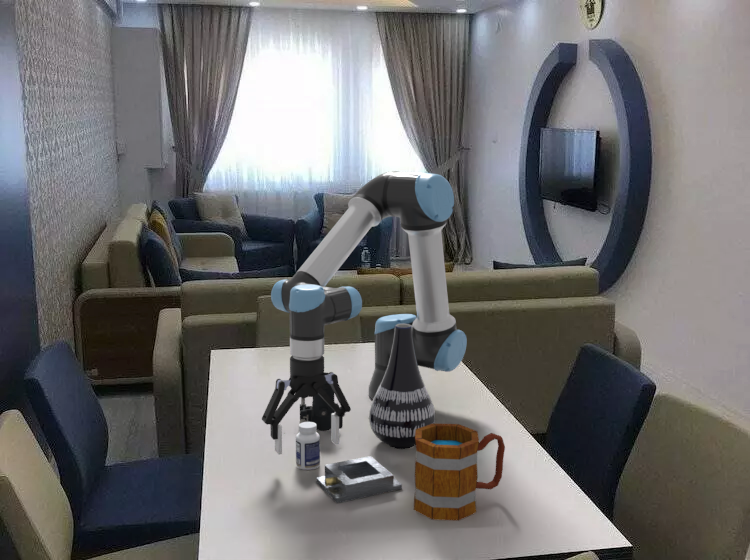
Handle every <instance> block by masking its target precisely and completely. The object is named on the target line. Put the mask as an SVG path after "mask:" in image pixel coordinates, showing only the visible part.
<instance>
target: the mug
mask: <svg viewBox="0 0 750 560" xmlns="http://www.w3.org/2000/svg"><path fill="white" fill-rule="evenodd" d="M494 440H496V442H497V450H496V455H495V472H494V476H493V478H492V480H491V481H489V482H484V481H478V477H479V476H478V452H479V451H483V450H484V449H485V448H486V447H488V444H489V443H490V442H492V441H494ZM415 443H416V445H415V451H416V452H415V462H414V463H415V464H414V484H415V485H414V486H415V490H414V498H413V511H415V512H417V513H418V514H420V515H422V516H425V517H426V518H428V519H430V520H432V521H433V520H435V521H436V520H439V521H458V522H460V521H461V520H464V519H465V518H468V517H469V516H472V515H474V514H476V513H477V505H476V502H477V501H476V497H477V496H476V495H477V494H476V492H477V491H476V490H477V489H480V490H481V489H482V490H483V489H484V490H492V489H495V488H496V487H499V484H500V482H501V480H502V477H503V470H504V469H503V467H504V456H505V450H506V447H505V443H504V439H503V437H502V436H501V435H499V434H496V433H493V432H490V433H489V434H485V436H483V437H482V438H481V440H480V438H479V432H478V430H475V429H473V428H470V427H467V426H465V425H462V424H459V423H437V422H435V423H433V424H430V425H427V426H424V427H421V428H418V429H416V431H415Z"/></svg>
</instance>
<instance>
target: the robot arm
mask: <svg viewBox="0 0 750 560" xmlns="http://www.w3.org/2000/svg"><path fill="white" fill-rule="evenodd" d="M454 196H455V195H454V190H453V187H452V186H451V183H450V182H449V181H448V180H447V178H445V177H444V176H443V175H441V174H438V173H431V172H427V171H426V172H419V171H418V172H415V171H413V172H412V171H399V170H398V171H396V170H395V171H394V170H392V171H388V172H383V173H381V174H379V175H377V176H375V177H374V178H372V179H370V180H369V181H367V183H365V184H364V185H363V186H362V187H361V188H359V189H358V190H357V192H356V193H354V195H353V196H352V197H351V199H349V201H348V204H347V205H348V208H347V209H346V211H344V214H342V216H340V218H339V220H338V221H336V223H335V224H334V226H332V228H331V229H330V230H329V232H328V233H327V234H326V235H325V236H324V238H323V239H322V241H321V242H320V243H319V244H318V245H317V247H316V248H315V249H314V250H313V251H312V253H311V254H310V255H309V256H308V257H307V259H306V260H305V261H304V262H303V264H302V265H301V266H300V267H299V269H298V270H297V271H296V272H295V274H294V275H293V276H292V277H291V278H290V279H288V278H286V279H280V280H278V281H277V282H275V283H274V285H273V287H272V289H271V292H270V298H271V303H272V305H273V306H274V307H275V309H277V310H279V311H283V312H285V313H288V314H289V354H290V357H289V375H290V376H289V379H284V380H283V379H281V378H277V379H276V380H275V389H274V391H273V393H272V395H271V396H270V399H269V401H268V404H267V407H266V408H265V411H264V413H263V415H262V417H261V420H262V422H263V423H264V424H266V425H268V426H270V437H271V439H272V440H274V451H275V452H276V453H277V455H283V425H281V422H282V420H283V419H284V417H285V416H286V415H287V414H288V412H289V411H290V409H291V408H292V407H293V405H294V404H296V403H297V402H298V400H299V399H301V398H305V399H306V398H309V397H310V398H313V397H315V396H316V395H317V394H319V395H320V396H321V397H322V399H323V400H324V401H325V402H326V403H327V404H328V405H329V406H330V407H331V408H332V409H333V410H334V411H335V413H332V414H331V430H330V439H331V442H332V443H333V444H335V445H340V430H341V429H343V425H344V424H343V423H344V422H343V417H345V416H346V413H350V411H352V409H351V406H350V404H349V402H348V400H347V398H346V396H345V394H344V393H343V390H342V388H341V386H340V385H339V378H338V375H337V374H335V373H334V372H333V371H329V372H328V373H329V374H328V375H324V373H325V357H324V355H325V326H328V325H331V324H335V323H339V322H345V321H348V320H350V319H353V318H356V317H357V316H358V315H359V314H360V312H361V311H362V308H363V299H362V296H361V294H360V291H358V290H357V289H356V288H355V287H354V286H349V285H348V286H339V287H331V286H327V284H328V283H329V282H330V281H331V280H332V278H333V277H334V276H335V274H336V272H338V270H340V268H341V267H342V265H343V264H344V263H345V262H346V260H347V259H348V257H350V255H351V254H352V252H354V250H355V249H356V247H357V246H358V245H359V243H361V241H362V240H363V239H364V237H365V236H366V234H367V233H368V232H369V230H370V229H372V227H377V226H378V225H379V224H380V223H381V222H382V220H384V219H387V218H391V217H394V218H395V217H396V218H400V219H399V220H400V227H401V230H403V231H404V232H405V233H406V234H407V237H408V246H409V254H410V263H411V273H412V281H413V291H414V299H415V300H414V301H415V309H416V315H415V314H414V313H413V314H412V313H399V314H389V315H385V316H384V315H383V316H381V317H379V318H378V319H377V320H376V321H375V325H374V326H375V327H374V328H375V329H374V370H373V373H372V377H371V378H370V382H369V385H368V397H369V398H371V400H373V398H374V396H375V394H376V392H377V390H378V388H379V386H380V384H381V382H382V380H383V377H384V375H385V372H386V370H387V366H388V363H389V359H390V355H391V350H392V345H393V340H394V332H395V325H397V324H410V325H411V326H412V336H413V344H414V350H415V356H416V360H417V365H418V367H422V368H427V369H432V370H434V371H437V372H438V371H439V372H440V371H441V372H452V371H454V370H455V369H456V368H457V367H458V366H459V365H460V364H461V362H462V361H463V359H464V357H465V354H466V349H467V341H468V340H467V334H465V332H464V331H462V330H460V329H457V322H456V318H455V317H454V316H453V315H451V314H450V309H449V306H450V305H449V297H448V287H447V286H448V285H447V276H446V275H447V274H446V267H445V264H446V263H445V257H444V255H445V254H444V246H443V235H442V234H443V233H442V230H443V228H444V227H445V226H446V225H447V220H448V219H449V218H450V217H451V216H452V214H453V211H454V209H453V207H454V206H455V197H454ZM326 381H327V382H328V383H329V384H330V385H331V387H332V389H333V391H334V396H335V397H336V399H337V401H338V403H339V407H338V406H337V404H338V403H336V402H335V400H334V401H333V400H332V399H331V398H330V397H329V396H328V395H327V393H326V392H325V391H324V390H323V389H322V387H323V385H324V383H325V382H326ZM288 387H290V390H288V392H287V395H286V397H285V398H284V400H283V401H282V402H281V400H282V398H283V396H284V392H285V391H286V390H287V389H288ZM280 402H281V404H280ZM279 404H280V405H279Z"/></svg>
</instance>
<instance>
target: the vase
mask: <svg viewBox="0 0 750 560" xmlns="http://www.w3.org/2000/svg"><path fill="white" fill-rule="evenodd" d="M424 382H425V381H424V380H423V378H422V375H421V371H420V369H419V366H418V365H417V360H416V356H415V350H414V344H413V336H412V326H411V325H410V324H397V325H395V332H394V340H393V345H392V350H391V355H390V359H389V363H388V366H387V370H386V372H385V375H384V377H383V380H382V382H381V384H380V386H379V388H378V390H377V392H376V394H375V396H374V398H373V399H372V401H371V404H370V407H369V411H368V412H369V413H368V422H369V426H370V429H371V430H372V433H373V434H374V436H376V438H377V439H378V440H380V441H381V442H383V443H384V444H386V445H388V446H389V447H391V448H392V449H396V450H407V449H411V448H413V447H416V443H415V431H416V429H418V428H421V427H424V426H427V425H430V424H433V423H436V412H435V407H434V403H433V400H432V398H431V395H430V393H429V391H428V390H427V387H426V385H425V383H424Z"/></svg>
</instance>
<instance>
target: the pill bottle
mask: <svg viewBox="0 0 750 560" xmlns="http://www.w3.org/2000/svg"><path fill="white" fill-rule="evenodd" d="M317 431H318V430H317V425H316V423H314V422H303V423H299V424H298V433H296V435H295V465H296V468H297V469H299V470H305V471H310V470H315V469H317V468H319V467H320V465H321V445H320V444H321V443H320V442H321V437H320V434H319V433H318V432H317Z"/></svg>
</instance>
